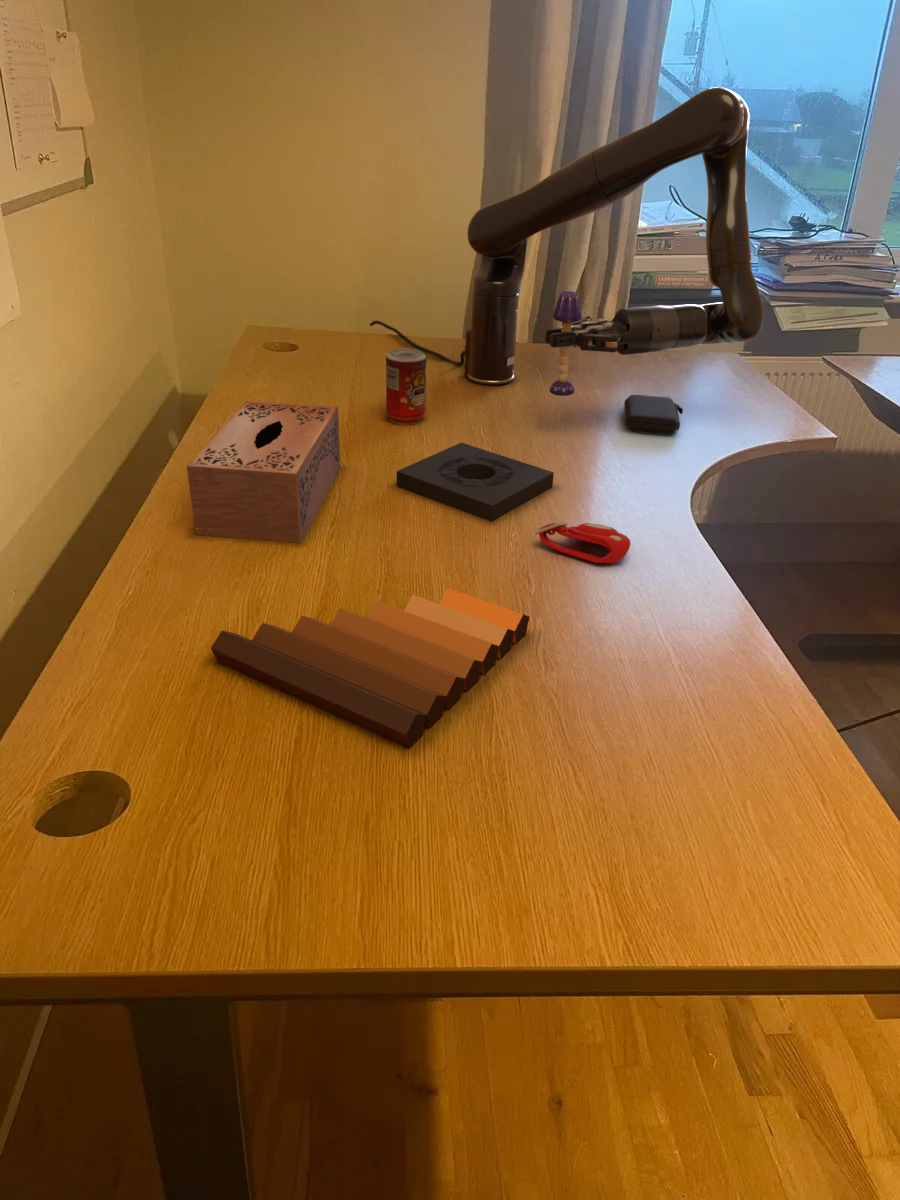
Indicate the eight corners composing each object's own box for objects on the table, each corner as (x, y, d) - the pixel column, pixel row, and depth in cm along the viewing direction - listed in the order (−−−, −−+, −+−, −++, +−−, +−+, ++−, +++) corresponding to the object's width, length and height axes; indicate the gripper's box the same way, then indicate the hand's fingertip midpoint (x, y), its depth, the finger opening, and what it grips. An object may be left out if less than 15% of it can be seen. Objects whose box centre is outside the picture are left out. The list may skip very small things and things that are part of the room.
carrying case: (684, 439, 156) (679, 411, 169) (687, 422, 155) (682, 395, 167) (623, 433, 158) (623, 406, 170) (625, 417, 156) (625, 391, 169)
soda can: (410, 429, 156) (410, 359, 150) (378, 420, 160) (377, 352, 153) (433, 418, 161) (434, 350, 155) (402, 410, 165) (402, 343, 158)
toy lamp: (581, 390, 153) (588, 291, 144) (568, 399, 150) (574, 297, 141) (556, 385, 155) (561, 287, 146) (543, 393, 152) (548, 293, 143)
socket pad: (396, 486, 136) (396, 471, 134) (460, 456, 147) (461, 442, 145) (491, 521, 126) (492, 505, 125) (552, 487, 137) (554, 472, 136)
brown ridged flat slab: (212, 664, 95) (405, 751, 84) (209, 638, 93) (405, 724, 82) (354, 570, 113) (528, 632, 102) (354, 546, 112) (530, 607, 101)
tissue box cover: (251, 461, 142) (245, 400, 137) (340, 467, 141) (338, 407, 136) (195, 535, 120) (186, 466, 115) (300, 543, 119) (296, 473, 114)
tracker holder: (604, 520, 125) (649, 534, 117) (599, 551, 126) (643, 567, 118) (531, 514, 120) (573, 529, 111) (526, 547, 121) (567, 563, 112)
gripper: (631, 297, 154) (535, 305, 150) (666, 317, 142) (563, 327, 139) (627, 340, 158) (534, 349, 154) (660, 364, 146) (561, 373, 143)
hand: (548, 338), depth 147 cm, fingers closed on toy lamp
